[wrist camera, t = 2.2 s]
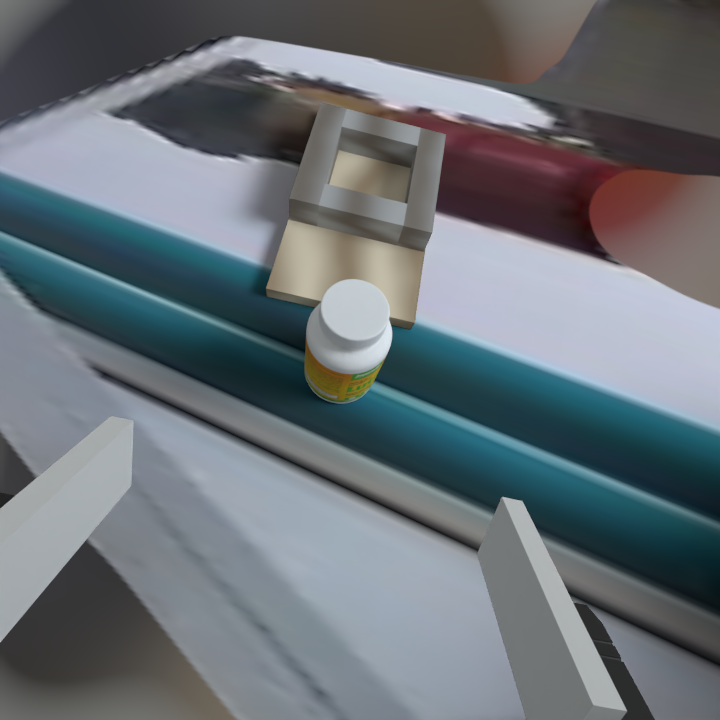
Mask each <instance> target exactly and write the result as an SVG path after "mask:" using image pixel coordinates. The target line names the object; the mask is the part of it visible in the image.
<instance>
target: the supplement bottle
mask: <svg viewBox="0 0 720 720" xmlns="http://www.w3.org/2000/svg"><path fill="white" fill-rule="evenodd" d="M389 317H390V308H389V304H388V301H387V299H386V297H385V296H384V294H383V293H382V292H381V291H380V290H379V289H378V288H377V287H376V286H374V285H372V284H371V283H368V282H366V281H363V280H357V279H347V280H342V281H339V282H337V283H335V284H333V285H332V286H331V287H329V288H328V289H327V290H326V292H325V293H324V295H323V297H322V299H321V303H319V304H318V305H317V306H316V308H315V309H314V310H313V312H312V313H311V315H310V317H309V320H308V324H307V330H306V349H305V365H304V371H305V377H306V381H307V383H308V385H309V386H310V388H311V389H312V391H313V392H314V393H315V394H316V395H318V396H319V397H320V398H322V399H324V400H326V401H329V402H332V403H338V404H343V403H349V402H353V401H355V400H357V399H359V398H361V397H362V396H363V395H364V394H365V393H366V392H367V391H368V390H369V389H370V387H371V385H372V384H373V382H374V380H375V378H376V376H377V374H378V372H379V370H380V367H381V366H382V363H383V361H384V359H385V357H386V355H387V353H388V351H389V348H390V345H391V341H392V328H391V324H390V321H389Z"/></svg>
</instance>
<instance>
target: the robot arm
mask: <svg viewBox="0 0 720 720" xmlns="http://www.w3.org/2000/svg"><path fill="white" fill-rule="evenodd" d="M133 423H134V421H133V420H128V419H123V418H118V417H113V416H110V417H109V418H108V419H107V420H105V421H104V422H103V423H102V424H101V425H100V426H98V427H97V428H96V429H95V430H94V431H92V432H91V433H90V434H89V435H88V436H86V437H85V438H84V439H83V440H82V441H80V442H79V443H78V444H77V445H76V446H74V447H73V448H72V449H71V450H70V451H68V452H67V453H66V454H65V455H64V456H62V457H61V458H60V459H59V460H58V461H56V462H55V463H54V464H53V465H52V466H51V467H49V468H48V469H47V470H46V471H45V472H43V473H42V474H41V475H40V476H39V477H37V478H36V479H35V480H34V481H33V482H32V483H30V484H29V485H28V486H27V487H26V488H24V489H23V490H22V491H21V492H20V493H18V494H17V495H16V496H14V495H9V494H4V493H0V642H1V641H2V640H3V638H4V637H5V636H6V635H7V634H8V632H9V631H10V630H11V629H12V628H13V627H14V625H15V624H16V623H17V622H18V621H19V619H20V618H21V617H22V616H23V615H24V613H25V612H26V611H27V610H28V609H29V607H30V606H31V605H32V604H33V603H34V601H35V600H36V599H37V598H38V597H39V595H40V594H41V593H42V592H43V591H44V590H45V588H46V587H47V586H48V584H49V583H50V582H51V581H52V580H53V578H54V577H55V576H56V575H57V574H58V573H59V571H60V570H61V569H62V568H63V567H64V566H65V564H66V563H67V562H68V561H69V560H70V558H71V557H72V556H73V555H74V553H75V552H76V551H77V550H78V548H79V547H80V546H81V545H82V544H83V543H84V542H85V540H86V539H87V538H88V537H89V536H90V534H91V533H92V532H93V531H94V530H95V528H96V527H97V526H98V525H99V524H100V522H101V521H102V520H103V519H104V518H105V516H106V515H107V514H108V513H109V512H110V510H111V509H112V508H113V507H114V506H115V504H116V503H117V502H118V501H119V500H120V498H121V497H122V496H123V495H124V494H125V492H126V491H127V490H128V489H129V488H130V486H131V477H132V450H133ZM477 555H478V558H479V562H480V565H481V568H482V572H483V575H484V579H485V582H486V585H487V589H488V592H489V595H490V599H491V602H492V605H493V609H494V612H495V615H496V619H497V622H498V625H499V629H500V632H501V635H502V639H503V642H504V646H505V649H506V652H507V656H508V659H509V662H510V666H511V669H512V672H513V676H514V679H515V682H516V686H517V689H518V692H519V696H520V699H521V702H522V706H523V709H524V713H525V716H526V719H527V720H655V719H654V718H653V716H652V714H651V712H650V710H649V708H648V707H647V705H646V703H645V701H644V699H643V697H642V696H641V694H640V692H639V690H638V688H637V686H636V685H635V683H634V681H633V679H632V677H631V675H630V674H629V672H628V670H627V668H626V666H625V664H624V662H621V657H620V655H619V653H618V651H617V650H616V648H615V646H613V645H612V640H611V639H610V637H609V635H608V633H607V631H606V629H605V628H604V626H603V624H602V622H601V621H600V620H599V619H598V618H597V617H596V616H595V614H594V613H593V612H592V611H591V610H590V609H589V608H588V606H587V605H583V604H578V603H573V602H572V600H571V598H570V596H569V594H568V592H567V590H566V588H565V586H564V584H563V582H562V580H561V578H560V576H559V574H558V572H557V570H556V568H555V566H554V564H553V562H552V560H551V558H550V556H549V554H548V552H547V550H546V548H545V546H544V543H543V541H542V539H541V537H540V535H539V533H538V531H537V529H536V527H535V525H534V523H533V521H532V519H531V517H530V515H529V513H528V511H527V509H526V507H525V505H524V503H523V501H519V500H514V499H510V498H505V497H502V498H501V500H500V503H499V505H498V507H497V510H496V512H495V514H494V517H493V519H492V521H491V524H490V526H489V528H488V530H487V533H486V535H485V537H484V540H483V542H482V544H481V547H480V549H479V551H478V554H477Z"/></svg>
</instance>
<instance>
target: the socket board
mask: <svg viewBox="0 0 720 720" xmlns="http://www.w3.org/2000/svg"><path fill="white" fill-rule="evenodd" d="M445 136H446V134H442V133H438V132H434V131H430V130H427V129H423V128H419V127H415V126H411V125H407V124H403V123H399V122H395V121H392V120H388V119H384V118H380V117H376V116H372V115H368V114H364V113H360V112H357V111H353V110H349V109H345V108H341V107H337V106H333V105H329V104H325V103H322V102H321V104H320V107H319V110H318V113H317V116H316V119H315V122H314V125H313V128H312V131H311V134H310V137H309V140H308V143H307V146H306V149H305V152H304V155H303V158H302V161H301V164H300V167H299V170H298V173H297V176H296V179H295V182H294V185H293V188H292V191H291V194H290V197H289V219H288V222H287V225H286V228H285V232H284V235H283V238H282V241H281V244H280V247H279V250H278V253H277V256H276V259H275V262H274V265H273V269H272V272H271V275H270V278H269V281H268V284H267V287H266V292H267V297H271V298H276V299H280V300H284V301H289V302H293V303H298V304H302V305H306V306H311V307H315V308H316V306H317V305H318V304H319V303H321V299H322V297H323V295H324V293H325V292H326V290H327V289H328V288H329V287H331V286H332V285H333V284H335V283H337V282H339V281H342V280H347V279H357V280H363V281H366V282H368V283H371V284H372V285H374V286H376V287H377V288H378V289H379V290H380V291H381V292H382V293H383V294H384V296H385V297H386V299H387V301H388V304H389V308H390V317H389V321H390V324H391V325H393V326H398V327H402V328H407V329H411V328H412V326H413V325H414V323H415V316H416V309H417V302H418V295H419V288H420V281H421V274H422V267H423V261H424V254H425V248H426V245H427V243H428V241H429V239H430V236H431V234H432V230H433V223H434V215H435V208H436V201H437V194H438V187H439V179H440V172H441V165H442V158H443V151H444V143H445Z"/></svg>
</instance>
